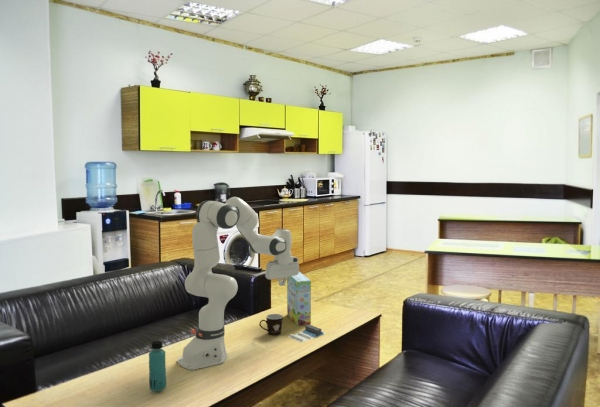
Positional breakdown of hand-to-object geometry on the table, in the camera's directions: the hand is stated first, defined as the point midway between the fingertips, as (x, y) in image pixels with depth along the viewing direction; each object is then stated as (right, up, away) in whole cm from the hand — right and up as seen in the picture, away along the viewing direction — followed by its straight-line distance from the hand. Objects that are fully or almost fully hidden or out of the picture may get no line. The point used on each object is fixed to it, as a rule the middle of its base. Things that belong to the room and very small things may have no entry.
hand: (282, 285), depth 246 cm
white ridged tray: (+13, -26, -4) cm, 29 cm away
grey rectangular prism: (+16, -25, -1) cm, 30 cm away
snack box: (+8, -24, +22) cm, 33 cm away
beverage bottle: (-46, -31, -62) cm, 83 cm away
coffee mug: (-5, -26, -2) cm, 26 cm away
